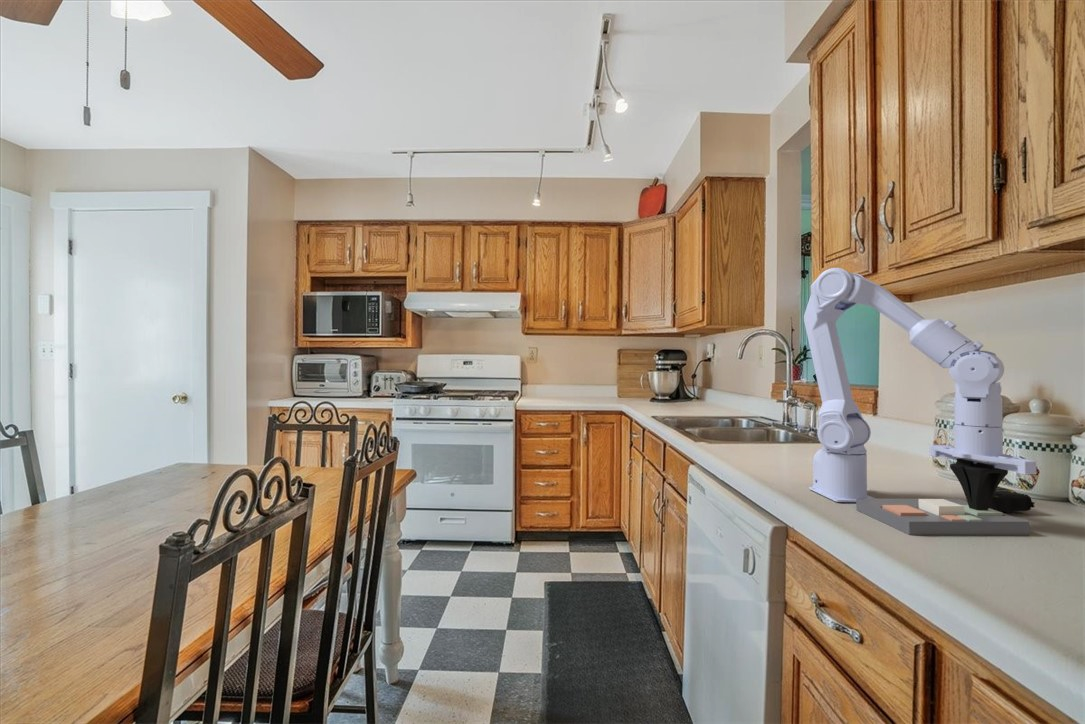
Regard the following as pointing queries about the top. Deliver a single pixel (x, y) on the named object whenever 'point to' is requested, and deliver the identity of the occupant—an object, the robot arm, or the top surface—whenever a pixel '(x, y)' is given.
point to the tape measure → (1010, 501)
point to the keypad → (942, 520)
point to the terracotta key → (904, 510)
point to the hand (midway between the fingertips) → (978, 509)
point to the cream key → (941, 507)
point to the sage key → (982, 512)
